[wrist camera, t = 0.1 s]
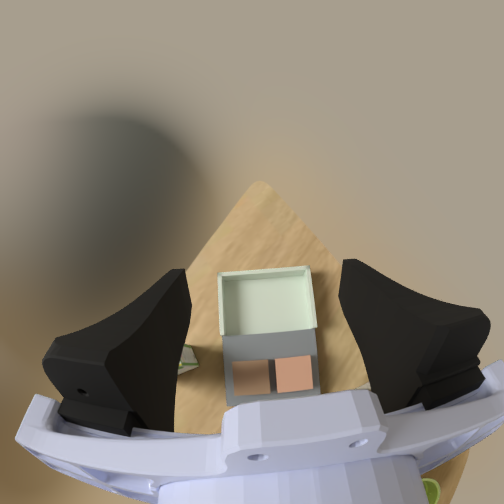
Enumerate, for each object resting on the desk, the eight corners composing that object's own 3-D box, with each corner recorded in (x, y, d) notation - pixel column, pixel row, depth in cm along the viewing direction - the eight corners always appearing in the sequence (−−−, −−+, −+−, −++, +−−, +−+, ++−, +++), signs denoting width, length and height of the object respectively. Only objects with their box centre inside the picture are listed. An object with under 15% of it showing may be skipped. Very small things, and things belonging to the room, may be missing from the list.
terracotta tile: (310, 386, 37) (313, 388, 34) (276, 390, 37) (277, 392, 34) (307, 355, 39) (310, 355, 36) (274, 358, 39) (275, 358, 36)
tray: (312, 329, 42) (317, 327, 39) (223, 337, 42) (220, 335, 39) (306, 272, 46) (309, 265, 42) (220, 279, 46) (217, 272, 42)
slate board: (318, 396, 38) (320, 397, 36) (228, 404, 38) (226, 406, 36) (312, 329, 42) (314, 328, 40) (224, 337, 42) (222, 336, 40)
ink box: (190, 343, 42) (162, 336, 29) (200, 366, 40) (175, 368, 28) (153, 358, 41) (114, 355, 28) (162, 380, 40) (125, 386, 27)
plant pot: (357, 463, 33) (382, 487, 22) (415, 454, 32) (448, 470, 21) (344, 514, 28) (362, 544, 18) (401, 503, 27) (427, 525, 17)
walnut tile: (269, 391, 37) (270, 393, 35) (236, 393, 37) (234, 395, 35) (267, 359, 39) (267, 359, 36) (233, 361, 39) (232, 361, 36)
